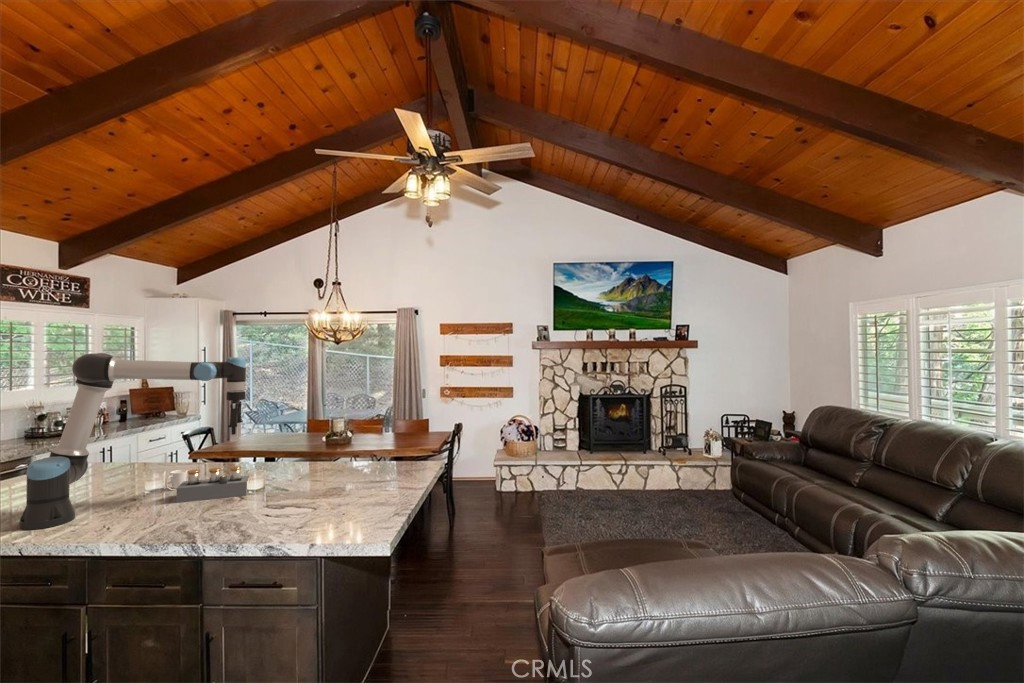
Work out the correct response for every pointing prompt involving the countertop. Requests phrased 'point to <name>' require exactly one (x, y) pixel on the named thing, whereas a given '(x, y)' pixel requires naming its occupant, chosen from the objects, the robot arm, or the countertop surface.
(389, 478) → the countertop surface
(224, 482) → the dial
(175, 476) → the cup
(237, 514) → the countertop surface
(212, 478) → the knob mid
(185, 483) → the panel
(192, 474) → the knob near
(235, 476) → the knob far
